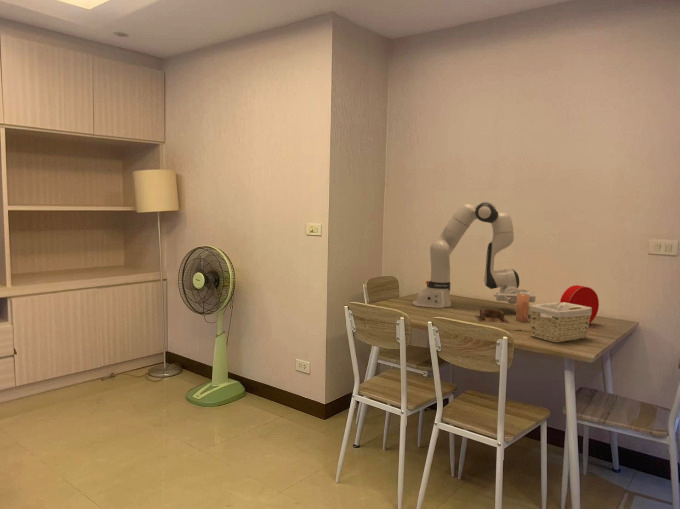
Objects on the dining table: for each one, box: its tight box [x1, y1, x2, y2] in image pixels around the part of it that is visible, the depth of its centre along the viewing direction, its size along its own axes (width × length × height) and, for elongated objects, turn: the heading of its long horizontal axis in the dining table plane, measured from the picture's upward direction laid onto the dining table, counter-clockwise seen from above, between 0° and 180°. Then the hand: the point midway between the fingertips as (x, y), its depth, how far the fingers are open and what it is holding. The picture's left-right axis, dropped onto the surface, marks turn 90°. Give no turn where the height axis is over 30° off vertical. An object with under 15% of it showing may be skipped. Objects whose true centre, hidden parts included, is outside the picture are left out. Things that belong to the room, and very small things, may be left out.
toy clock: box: [559, 284, 600, 325], centre depth 263 cm, size 20×6×20 cm, turn 111°
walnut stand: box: [474, 308, 511, 324], centre depth 267 cm, size 15×15×5 cm
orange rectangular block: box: [515, 294, 530, 323], centre depth 264 cm, size 6×8×14 cm
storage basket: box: [530, 301, 592, 343], centre depth 237 cm, size 24×16×15 cm
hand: (518, 300), depth 273 cm, fingers open, 8 cm apart
